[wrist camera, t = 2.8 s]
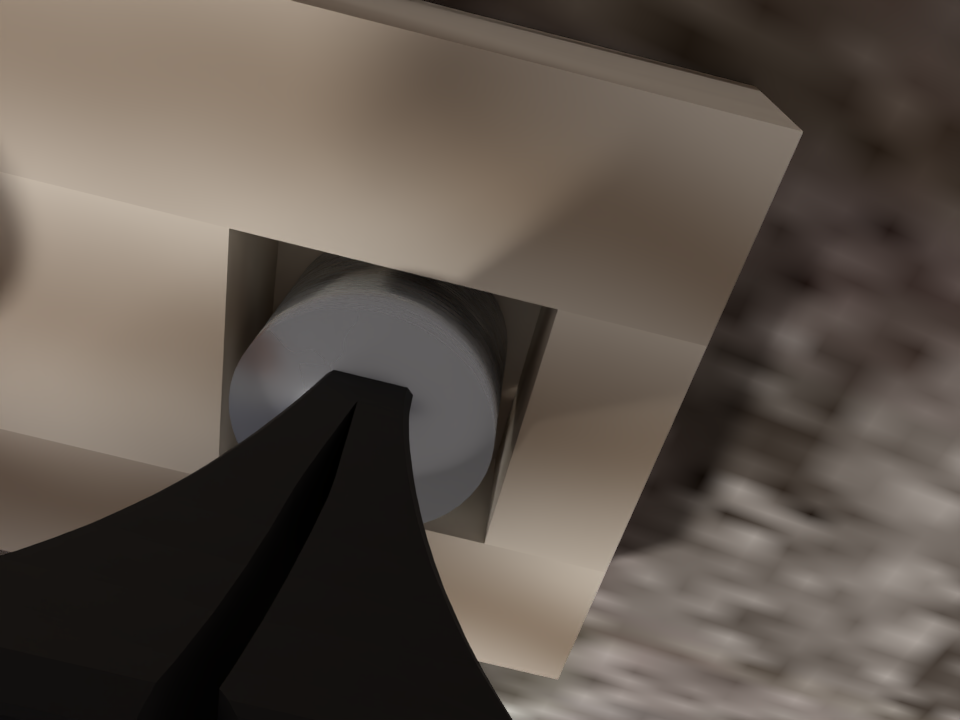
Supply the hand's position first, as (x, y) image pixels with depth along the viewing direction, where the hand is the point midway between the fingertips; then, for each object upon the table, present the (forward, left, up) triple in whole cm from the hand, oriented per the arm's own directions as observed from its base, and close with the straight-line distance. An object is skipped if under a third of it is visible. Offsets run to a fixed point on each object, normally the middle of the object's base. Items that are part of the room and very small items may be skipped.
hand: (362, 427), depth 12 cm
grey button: (0, 0, -3) cm, 3 cm away
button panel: (0, +5, -4) cm, 6 cm away
